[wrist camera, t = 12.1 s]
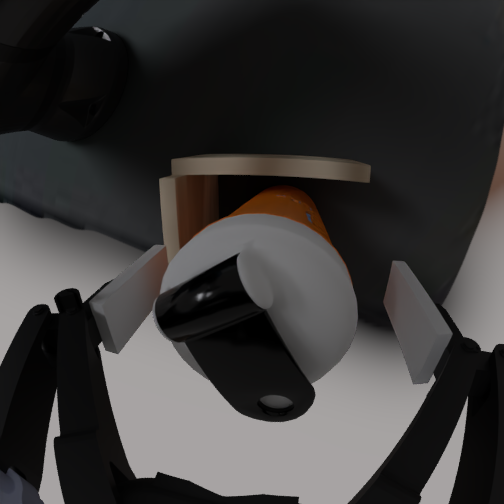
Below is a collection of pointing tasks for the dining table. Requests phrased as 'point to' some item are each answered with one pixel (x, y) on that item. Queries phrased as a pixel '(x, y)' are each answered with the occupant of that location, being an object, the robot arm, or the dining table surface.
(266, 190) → the shaker bottle
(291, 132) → the dining table surface
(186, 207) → the bookend
